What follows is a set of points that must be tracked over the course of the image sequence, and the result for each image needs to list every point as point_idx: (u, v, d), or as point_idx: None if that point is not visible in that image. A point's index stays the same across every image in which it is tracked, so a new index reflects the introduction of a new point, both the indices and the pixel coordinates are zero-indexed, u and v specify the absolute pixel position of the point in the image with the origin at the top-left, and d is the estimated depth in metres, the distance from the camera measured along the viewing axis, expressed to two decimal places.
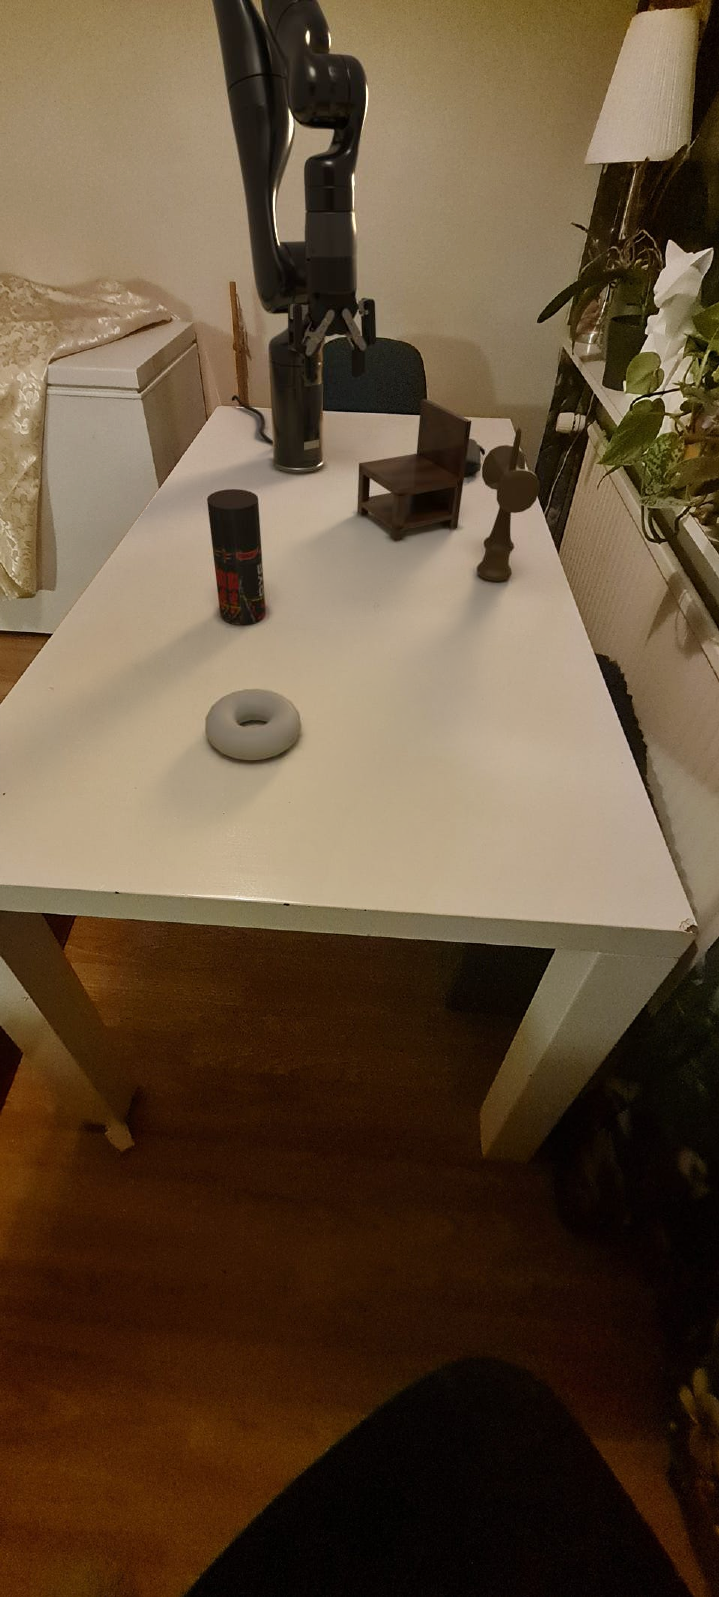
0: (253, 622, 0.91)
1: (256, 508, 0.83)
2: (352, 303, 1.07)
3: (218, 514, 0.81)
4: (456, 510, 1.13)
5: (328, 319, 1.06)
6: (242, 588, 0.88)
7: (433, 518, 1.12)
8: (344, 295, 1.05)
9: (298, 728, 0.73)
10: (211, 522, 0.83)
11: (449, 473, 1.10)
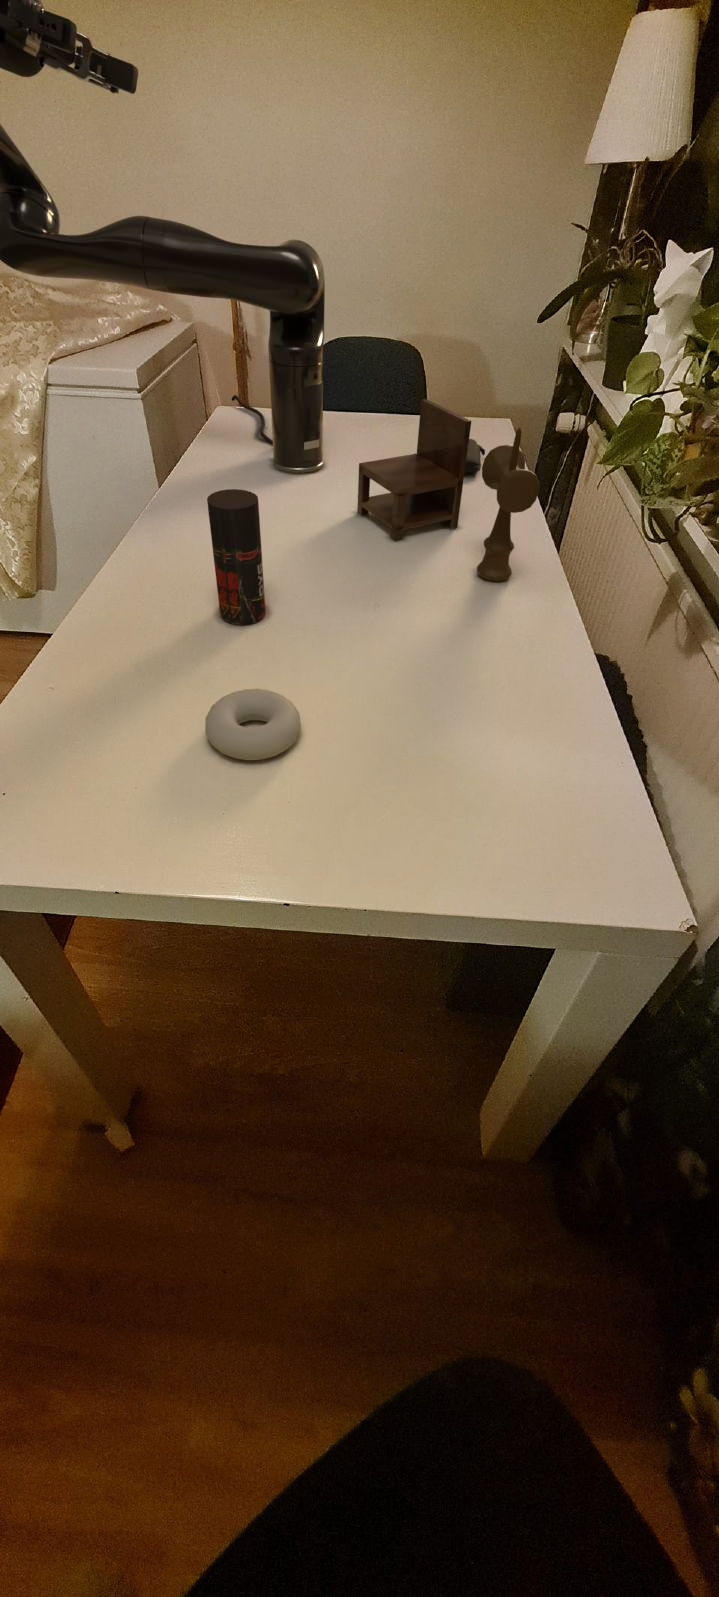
0: (253, 622, 0.91)
1: (256, 508, 0.83)
2: None
3: (218, 514, 0.81)
4: (456, 510, 1.13)
5: None
6: (242, 588, 0.88)
7: (433, 518, 1.12)
8: None
9: (298, 728, 0.73)
10: (211, 522, 0.83)
11: (449, 473, 1.10)
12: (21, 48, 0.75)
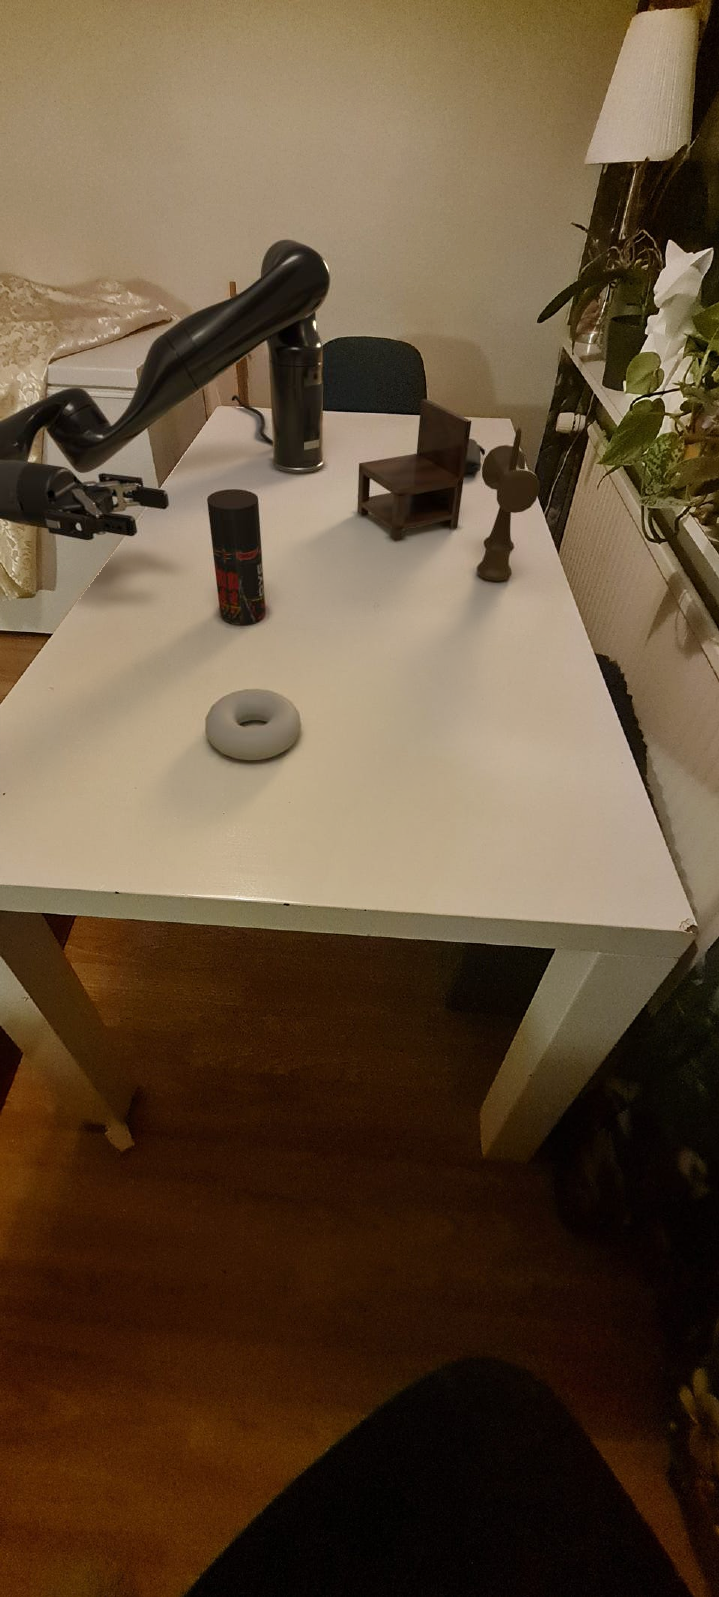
0: (253, 622, 0.91)
1: (256, 508, 0.83)
2: None
3: (218, 514, 0.81)
4: (456, 510, 1.13)
5: (79, 492, 0.85)
6: (242, 588, 0.88)
7: (433, 518, 1.12)
8: (74, 486, 0.89)
9: (298, 728, 0.73)
10: (211, 522, 0.83)
11: (449, 473, 1.10)
12: None
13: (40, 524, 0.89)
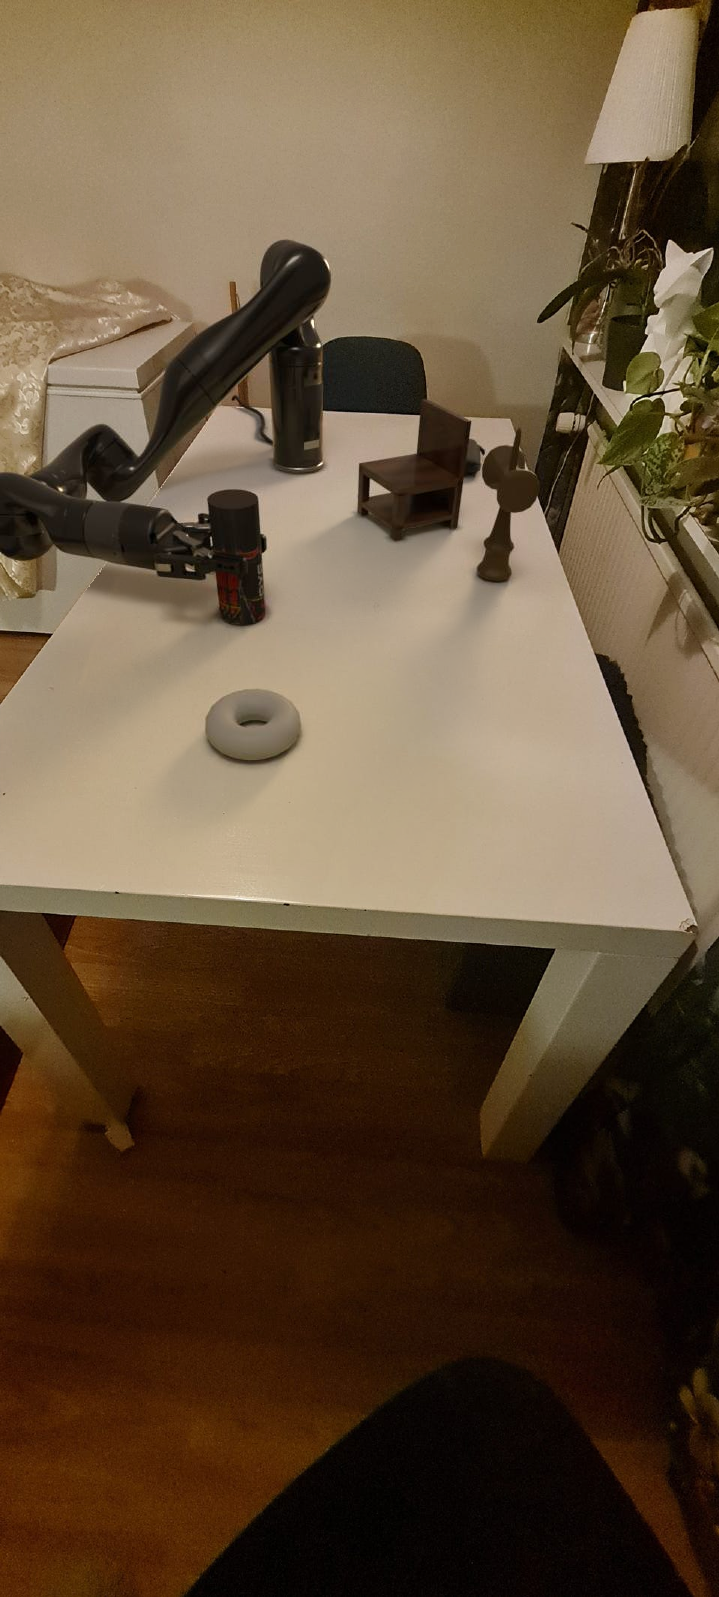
0: (253, 622, 0.91)
1: (256, 508, 0.83)
2: None
3: (218, 514, 0.81)
4: (456, 510, 1.13)
5: (181, 534, 0.86)
6: (242, 588, 0.88)
7: (433, 518, 1.12)
8: (172, 527, 0.89)
9: (298, 728, 0.73)
10: (211, 522, 0.83)
11: (449, 473, 1.10)
12: None
13: (139, 565, 0.89)
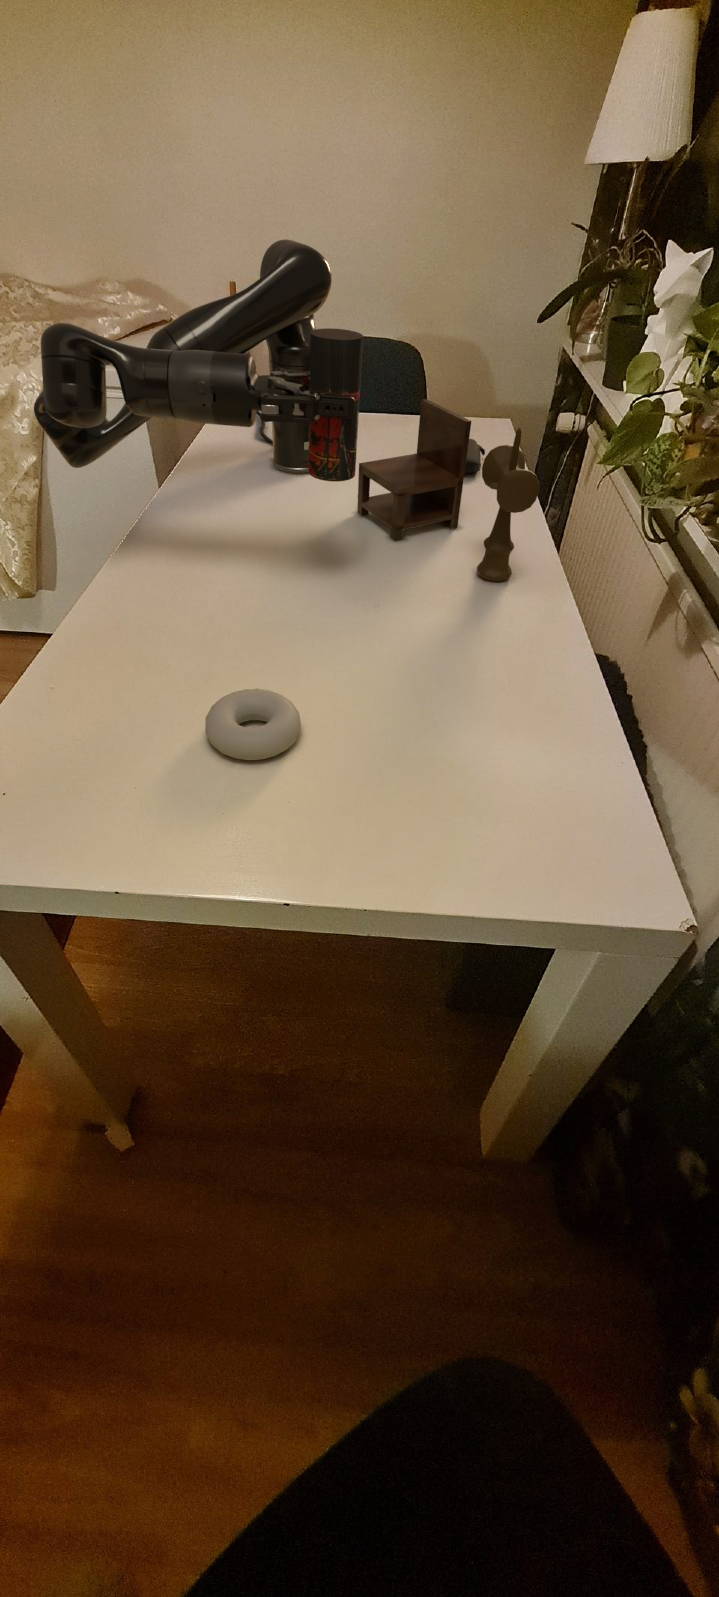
0: (348, 478, 0.88)
1: (362, 343, 0.80)
2: (269, 376, 0.85)
3: (329, 347, 0.78)
4: (456, 510, 1.13)
5: (279, 378, 0.81)
6: (344, 436, 0.84)
7: (433, 518, 1.12)
8: (258, 377, 0.84)
9: (298, 728, 0.73)
10: (317, 359, 0.79)
11: (449, 473, 1.10)
12: None
13: (228, 418, 0.83)
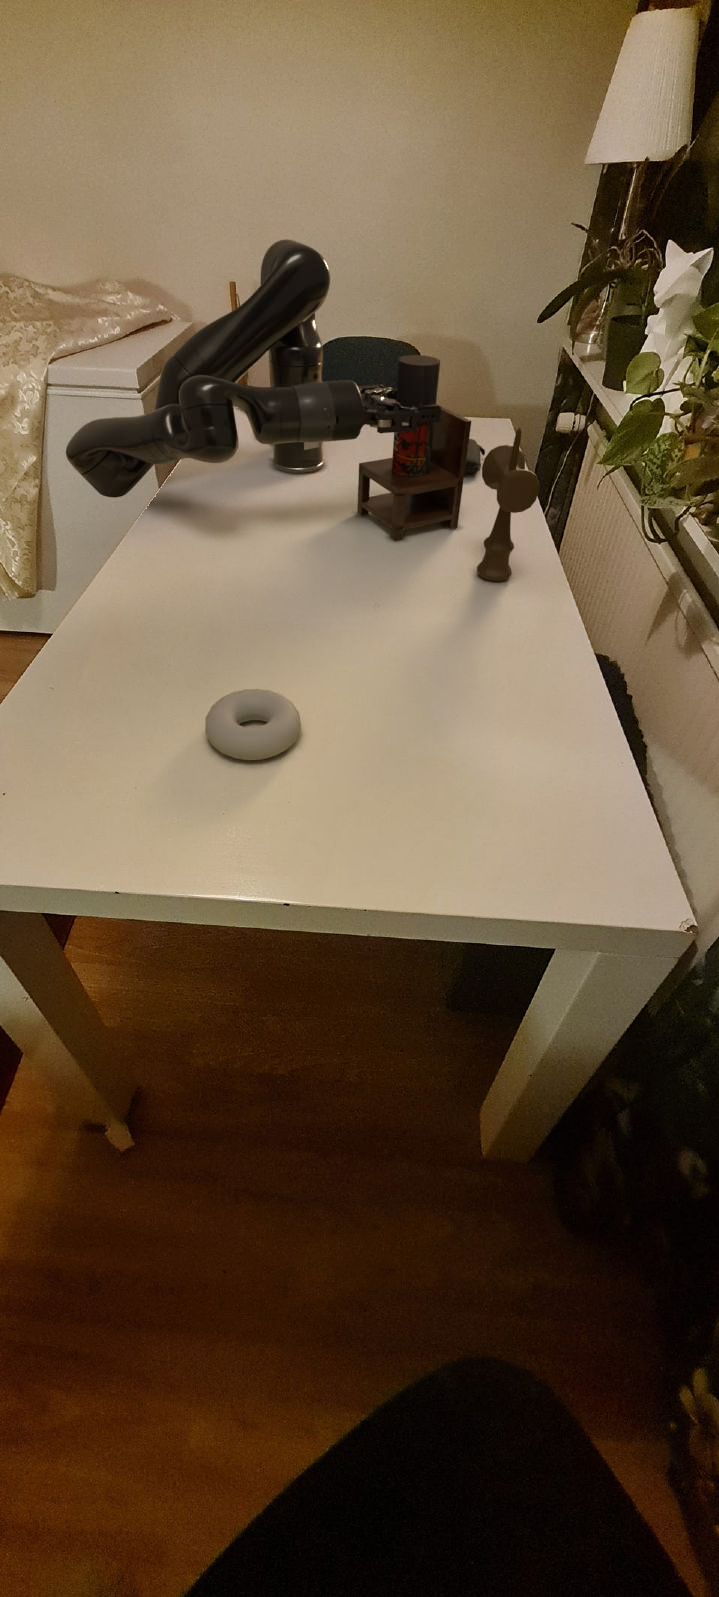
0: (428, 471, 1.10)
1: None
2: None
3: (423, 371, 0.99)
4: (456, 510, 1.13)
5: (380, 396, 1.00)
6: (429, 439, 1.06)
7: (433, 518, 1.12)
8: None
9: (298, 728, 0.73)
10: (411, 382, 1.00)
11: (449, 473, 1.10)
12: None
13: (344, 435, 1.01)
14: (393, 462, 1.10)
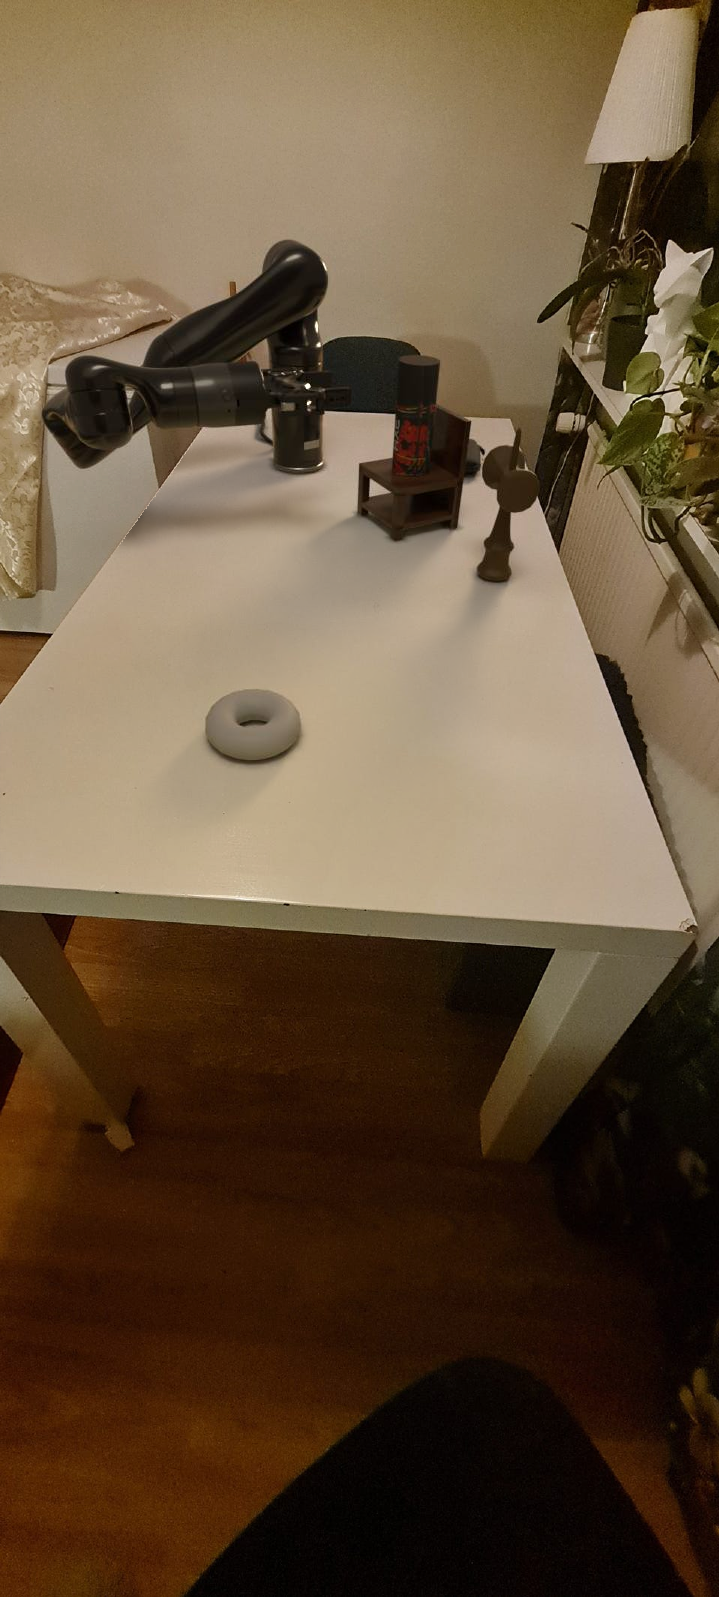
0: (428, 471, 1.10)
1: None
2: (265, 377, 0.98)
3: (423, 371, 0.99)
4: (456, 510, 1.13)
5: (285, 378, 0.95)
6: (429, 439, 1.06)
7: (433, 518, 1.12)
8: None
9: (298, 728, 0.73)
10: (411, 382, 1.00)
11: (449, 473, 1.10)
12: None
13: (248, 419, 0.95)
14: (393, 462, 1.10)
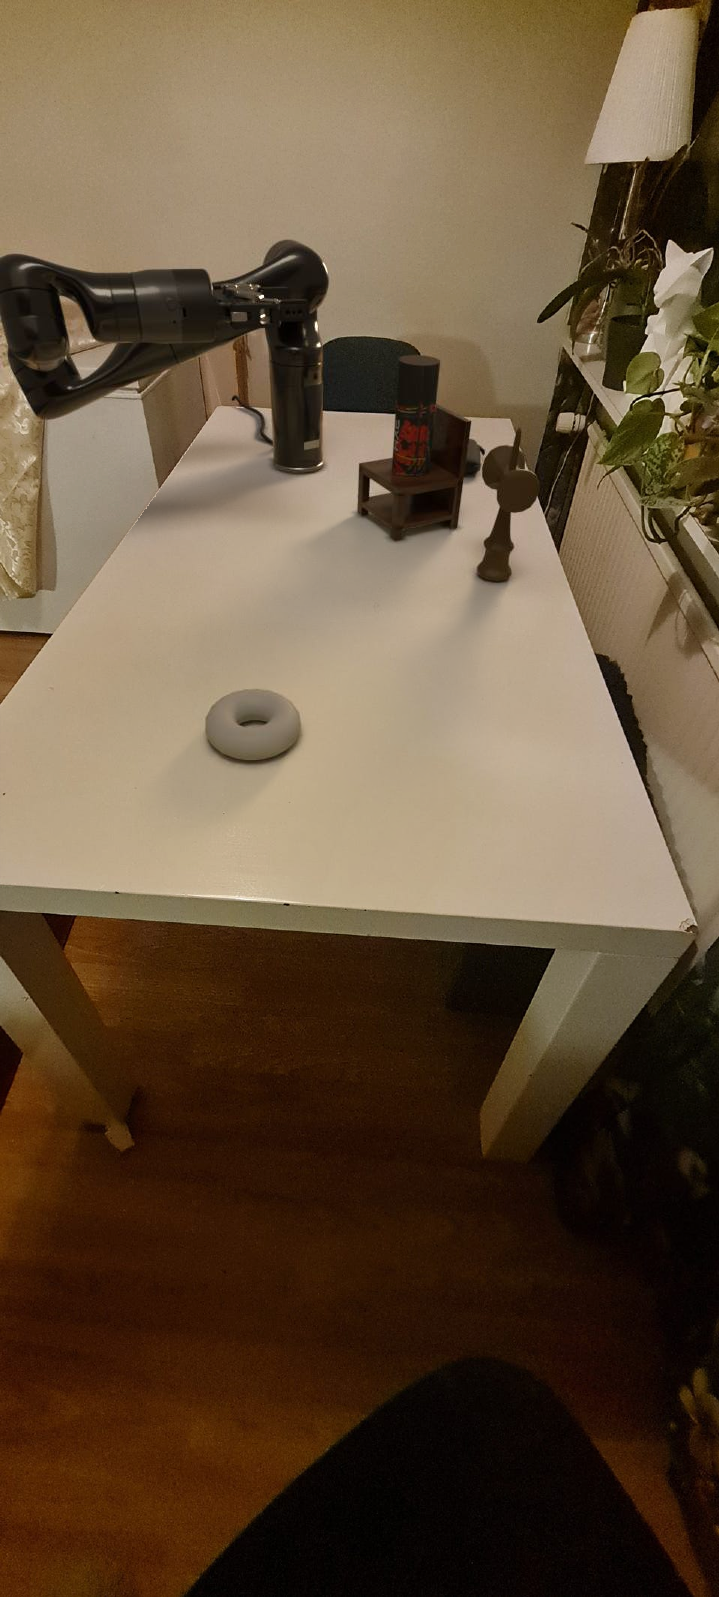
0: (428, 471, 1.10)
1: None
2: (217, 290, 0.90)
3: (423, 371, 0.99)
4: (456, 510, 1.13)
5: (237, 288, 0.87)
6: (429, 439, 1.06)
7: (433, 518, 1.12)
8: None
9: (298, 728, 0.73)
10: (411, 382, 1.00)
11: (449, 473, 1.10)
12: None
13: (196, 333, 0.87)
14: (393, 462, 1.10)
